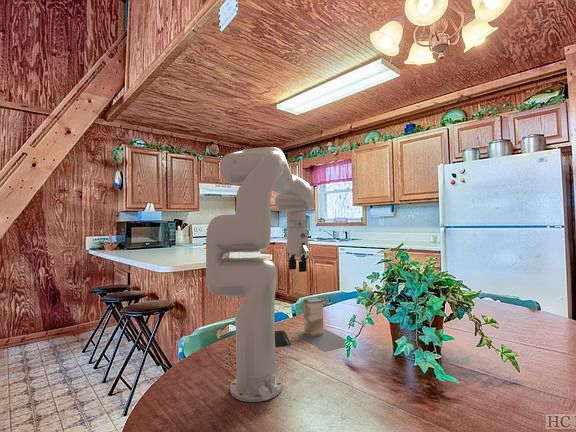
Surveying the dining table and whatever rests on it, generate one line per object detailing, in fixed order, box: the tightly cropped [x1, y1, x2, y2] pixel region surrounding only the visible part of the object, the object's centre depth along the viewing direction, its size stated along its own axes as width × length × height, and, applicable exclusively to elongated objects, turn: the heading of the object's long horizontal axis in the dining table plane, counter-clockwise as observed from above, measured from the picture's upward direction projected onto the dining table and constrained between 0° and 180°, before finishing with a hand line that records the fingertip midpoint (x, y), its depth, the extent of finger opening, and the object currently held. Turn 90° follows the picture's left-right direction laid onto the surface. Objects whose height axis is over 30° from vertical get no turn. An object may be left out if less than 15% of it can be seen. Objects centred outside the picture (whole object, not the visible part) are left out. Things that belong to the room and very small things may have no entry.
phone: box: [275, 330, 292, 348], centre depth 109 cm, size 8×1×15 cm
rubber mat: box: [294, 327, 347, 353], centre depth 108 cm, size 20×12×1 cm, turn 27°
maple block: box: [303, 297, 324, 336], centre depth 113 cm, size 5×5×12 cm
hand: (297, 270), depth 124 cm, fingers open, 7 cm apart
